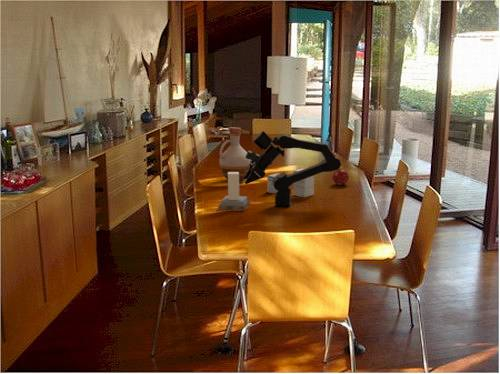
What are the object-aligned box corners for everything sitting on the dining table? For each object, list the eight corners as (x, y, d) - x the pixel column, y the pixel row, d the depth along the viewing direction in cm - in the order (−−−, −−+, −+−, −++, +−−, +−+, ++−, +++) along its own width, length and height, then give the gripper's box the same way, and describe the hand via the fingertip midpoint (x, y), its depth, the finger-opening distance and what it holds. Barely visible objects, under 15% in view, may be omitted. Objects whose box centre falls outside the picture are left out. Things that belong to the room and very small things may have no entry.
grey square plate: (249, 205, 251) (249, 200, 250) (244, 212, 239) (244, 207, 239) (224, 204, 253) (224, 199, 252) (218, 211, 242) (218, 206, 241)
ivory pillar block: (239, 197, 247) (238, 171, 245) (239, 199, 242) (239, 173, 240) (228, 197, 247) (227, 172, 245) (228, 200, 242) (227, 174, 240)
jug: (231, 186, 284) (229, 130, 277) (210, 181, 297) (209, 127, 290) (258, 181, 297) (257, 127, 290) (237, 176, 310) (236, 124, 303)
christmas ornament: (330, 185, 284) (330, 167, 282) (335, 182, 292) (335, 164, 290) (345, 187, 281) (346, 168, 278) (350, 183, 288) (351, 165, 286)
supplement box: (302, 192, 271) (302, 168, 268) (314, 195, 266) (314, 170, 263) (293, 195, 266) (293, 170, 263) (304, 197, 261) (304, 172, 258)
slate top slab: (247, 200, 249) (247, 196, 249) (243, 206, 240) (242, 202, 239) (226, 199, 251) (226, 195, 251) (221, 205, 242) (221, 201, 241)
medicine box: (276, 189, 278) (276, 173, 276) (283, 190, 275) (283, 174, 273) (267, 192, 272) (267, 175, 270) (274, 193, 269) (274, 176, 267)
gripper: (254, 141, 249) (231, 165, 251) (257, 147, 231) (232, 173, 233) (271, 157, 251) (248, 181, 253) (275, 165, 233) (250, 190, 235)
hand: (244, 181), depth 243 cm, fingers open, 9 cm apart
